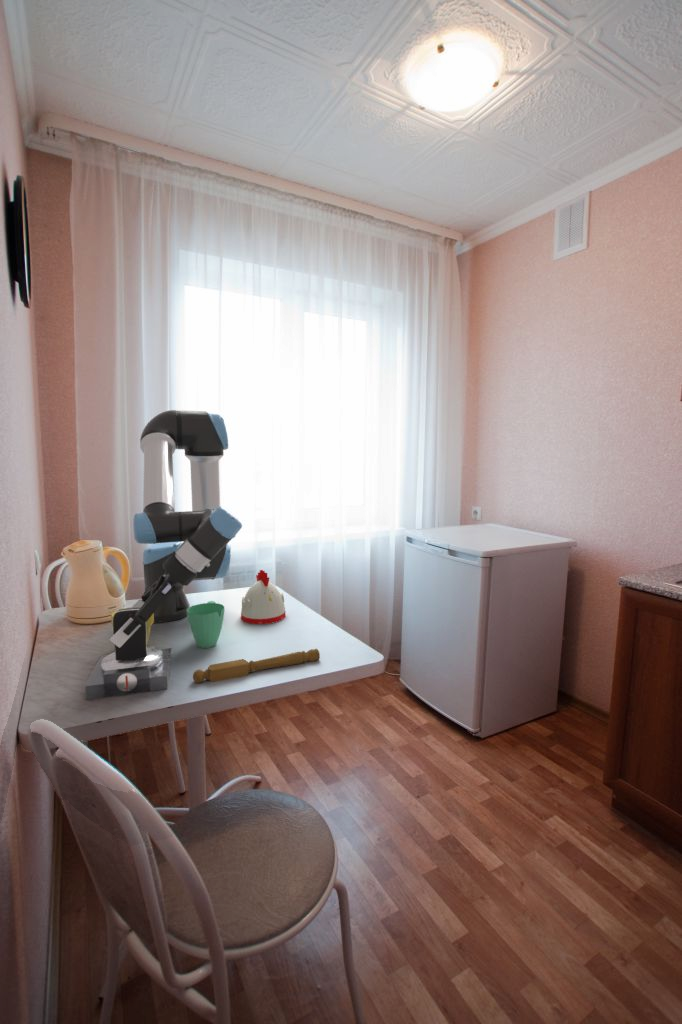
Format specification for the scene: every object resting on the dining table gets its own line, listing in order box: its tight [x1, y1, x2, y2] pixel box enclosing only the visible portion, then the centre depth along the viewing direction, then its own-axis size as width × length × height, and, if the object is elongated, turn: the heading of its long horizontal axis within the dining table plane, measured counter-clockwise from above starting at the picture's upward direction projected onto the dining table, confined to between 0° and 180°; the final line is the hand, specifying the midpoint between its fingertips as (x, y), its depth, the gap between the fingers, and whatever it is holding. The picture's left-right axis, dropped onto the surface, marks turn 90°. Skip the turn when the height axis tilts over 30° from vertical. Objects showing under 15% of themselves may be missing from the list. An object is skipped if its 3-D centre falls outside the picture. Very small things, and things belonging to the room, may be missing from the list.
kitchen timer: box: [240, 569, 286, 625], centre depth 150 cm, size 14×14×15 cm
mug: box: [186, 600, 225, 649], centre depth 130 cm, size 15×10×10 cm
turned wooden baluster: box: [192, 648, 321, 684], centre depth 113 cm, size 3×3×30 cm
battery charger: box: [112, 607, 147, 661], centre depth 109 cm, size 7×4×11 cm, turn 106°
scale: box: [84, 645, 173, 701], centre depth 109 cm, size 16×16×5 cm
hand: (119, 632), depth 108 cm, fingers open, 13 cm apart
